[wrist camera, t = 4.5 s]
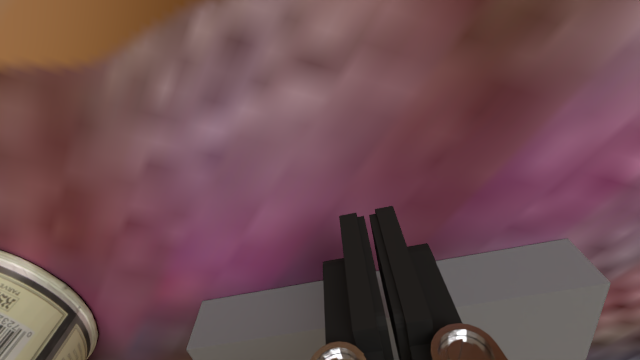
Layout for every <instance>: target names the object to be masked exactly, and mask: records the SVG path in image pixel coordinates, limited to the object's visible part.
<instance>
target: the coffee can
mask: <svg viewBox="0 0 640 360" xmlns="http://www.w3.org/2000/svg"><path fill="white" fill-rule="evenodd" d="M97 338H98V331H97V327H96V322H95V320H94V318H93V315H92V313H91V311H90V309H89V308H88V307H87V306H86V304H85V303H84V302H83V300H82V299H81V298H80V297H79V296H78V294H76V293H75V292H74V291H73V290H72V289H71V288H70V287H69V286H68V285H67V284H66V283H64V282H62V281H60V280H59V279H57V278H56V277H54V276H53V275H51V274H50V273H48V272H47V271H45V270H43V269H42V268H40V267H38V266H36V265H34V264H32V263H30V262H29V261H27V260H24V259H22V258H20V257H17V256H15V255H12V254H10V253H7V252H4V251H1V250H0V360H87V359H88V358H89V356H90V355H91V354H92V352H93V350H94V348H95V346H96V343H97Z"/></svg>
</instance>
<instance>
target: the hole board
mask: <svg viewBox="0 0 640 360" xmlns="http://www.w3.org/2000/svg"><path fill="white" fill-rule="evenodd" d="M436 263H437V266H438V268H439V270H440V273H441V275H442V277H443V280H444V282H445V284H446V286H447V289H448V291H449V293H450V296H451V298H452V300H453V303H454V305H455V307H456V310H457V312H458V314H459V316H460V319H461V321H462V323H463V324H470V325H472V326H475V327H477V328H480V329H481V330H483V331H484V332H486V333H487V334H489V335H490V336H491V337H492V339H493V340H494V341H495V342H496V343H497V344H498V346H499V347H500V349H501V350H502V352H503V353H504V355H505V356H506V358H507V359H508V360H586V357H587V354H588V351H589V348H590V345H591V342H592V339H593V336H594V332H595V329H596V326H597V323H598V320H599V317H600V314H601V311H602V308H603V305H604V302H605V299H606V296H607V293H608V290H609V287H610V282H609V281H608V280H607V279H606V278H605V276H604V275H603V274H602V273H601V272H600V271H599V270H598V269H597V268H596V267H595V266H594V265H593V264H592V263H591V262H590V261H589V260H588V259H587V258H586V257H585V256H584V255H583V254H582V253H581V252H580V251H579V250H578V249H577V248H576V247H575V246H574V245H573V244H572V243H571V242H570V241H569V239H562V240H556V241H550V242H545V243H539V244H533V245H527V246H521V247H515V248H510V249H504V250H498V251H492V252H486V253H480V254H475V255H469V256H463V257H457V258H451V259H445V260H440V261H436ZM376 274H377V279H378V284H379V288H380V293H381V298H382V302H383V307H384V311H385V316H386V321H387V326H388V331H389V336H390V342H391V347H392V352H393V358H394V360H399V356H398V352H397V348H396V343H395V339H394V334H393V330H392V326H391V321H390V317H389V313H388V308H387V304H386V299H385V295H384V291H383V286H382V282H381V277H380V271H376ZM325 345H326V341H325V314H324V288H323V281H317V282H311V283H306V284H300V285H294V286H288V287H282V288H276V289H271V290H265V291H259V292H253V293H247V294H241V295H236V296H230V297H224V298H218V299H212V300H207V301H202V304H201V307H200V310H199V313H198V316H197V319H196V322H195V325H194V328H193V331H192V334H191V337H190V340H189V343H188V346H187V349H186V350H187V352H188V353H189V354H190V356H191V357H192V359H193V360H310V359H311V358H312V356H313V355H314V353H315V352H316V351H318V350H319V349H320V348H321V347H322V346H325Z"/></svg>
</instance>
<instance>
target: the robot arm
mask: <svg viewBox="0 0 640 360" xmlns="http://www.w3.org/2000/svg"><path fill="white" fill-rule="evenodd" d="M375 213H376V214H372V215H369V216H370V222H371V228H372V233H373V239H374V244H375V250H376V255H377V260H378V266H379V271H380V277H381V282H382V286H383V291H384V295H385V299H386V304H387V308H388V313H389V317H390V321H391V326H392V330H393V334H394V339H395V343H396V348H397V352H398V356H399V360H508V359H507V358H506V356H505V355H504V353H503V352H502V350H501V349H500V347H499V346H498V344H497V343H496V342H495V341H494V340H493V339H492V337H491V336H490V335H489V334H487V333H486V332H484V331H483V330H481V329H480V328H477V327H475V326H472V325H470V324H463V323H462V321H461V319H460V316H459V314H458V312H457V310H456V307H455V305H454V303H453V300H452V298H451V296H450V293H449V291H448V289H447V286H446V284H445V282H444V280H443V277H442V275H441V273H440V270H439V268H438V266H437V263H436V261H435V259H434V256H433V254H432V252H431V250H430V248H429V246H428V244H427V243H426V244H421V245H415V246H409V247H407V245H406V243H405V240H404V237H403V234H402V231H401V228H400V226H399V223H398V220H397V217H396V214H395V211H394V208H393V206H389V207H384V208H379V209H375ZM339 218H340V227H341V235H342V244H343V253H344V258H342V259H336V260H330V261H325V262H323V288H324V314H325V341H326V345H325V346H322V347H321V348H320V349H319V350H318V351H316V352H315V353H314V355H313V356H312V358H311V359H310V360H394V358H393V352H392V347H391V342H390V336H389V331H388V326H387V321H386V316H385V311H384V307H383V302H382V298H381V293H380V288H379V284H378V279H377V274H376V270H375V265H374V261H373V256H372V251H371V247H370V242H369V238H368V233H367V228H366V224H365V219H364V216H361V217H357V214H356V213H352V214H347V215H342V216H339Z"/></svg>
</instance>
